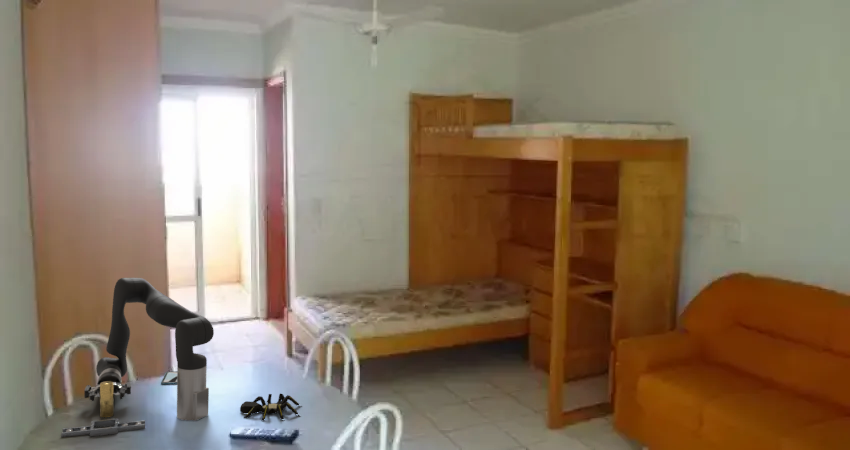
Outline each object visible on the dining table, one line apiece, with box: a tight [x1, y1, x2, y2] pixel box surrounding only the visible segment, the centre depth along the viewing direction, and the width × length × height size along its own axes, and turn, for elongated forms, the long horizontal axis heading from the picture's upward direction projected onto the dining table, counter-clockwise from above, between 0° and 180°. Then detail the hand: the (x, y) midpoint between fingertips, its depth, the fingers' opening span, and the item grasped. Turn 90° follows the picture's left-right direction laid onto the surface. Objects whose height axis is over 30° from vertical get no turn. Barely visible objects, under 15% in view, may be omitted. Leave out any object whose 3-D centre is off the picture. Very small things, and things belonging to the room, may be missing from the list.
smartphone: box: [160, 370, 177, 386], centre depth 260 cm, size 7×1×15 cm
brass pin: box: [99, 381, 114, 419], centre depth 221 cm, size 4×4×11 cm
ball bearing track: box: [60, 418, 146, 438], centre depth 209 cm, size 24×8×2 cm, turn 113°
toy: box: [239, 393, 300, 421], centre depth 231 cm, size 18×21×5 cm
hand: (107, 397), depth 221 cm, fingers open, 8 cm apart
